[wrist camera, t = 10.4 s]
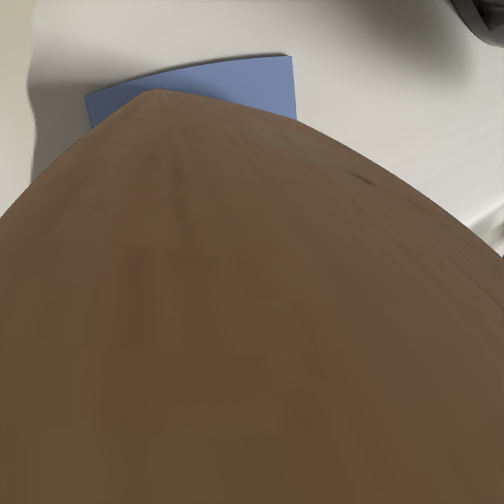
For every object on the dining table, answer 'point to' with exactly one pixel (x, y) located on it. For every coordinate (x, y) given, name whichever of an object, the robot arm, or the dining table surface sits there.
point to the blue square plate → (211, 86)
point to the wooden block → (243, 323)
